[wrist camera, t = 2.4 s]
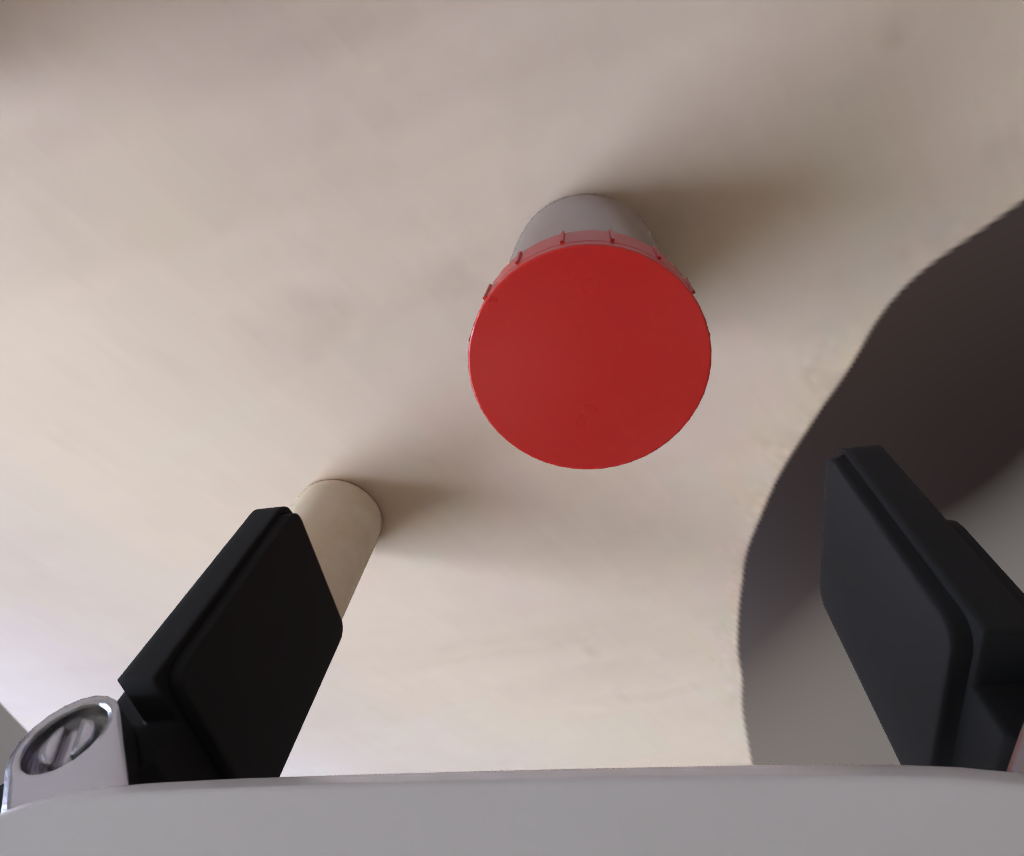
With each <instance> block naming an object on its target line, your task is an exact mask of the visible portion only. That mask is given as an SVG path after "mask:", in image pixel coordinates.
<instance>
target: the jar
mask: <svg viewBox="0 0 1024 856" xmlns="http://www.w3.org/2000/svg"><path fill="white" fill-rule="evenodd" d="M609 229H612V230H613V232H615V233H619V234H623V235H626V236H629V237H632V238H635V239H637V240H639V241H641V242H643V243H645V244H647V245H649V246H650V247H653V246H655V247H657V249H658V251H659V252H660V250H659V248H658V246H657V245H656V243H655V241H654V239H653V237H652V235H651V233H650V231H649V229H648V228H647V226H646V224H645V223H644V222H643V220H642V219H641V218H640V217H639V216H638V215H637V214H636V213H635V212H634V211H633V210H632V209H631V208H629V207H628V206H626V205H625V204H623V203H621V202H619V201H617V200H615V199H613V198H610V197H606V196H602V195H596V194H579V195H572V196H568V197H564V198H562V199H559V200H557V201H555V202H553V203H551V204H549V205H548V206H546V207H545V208H543V209H542V210H541V211H539V212H538V213H537V214H536V215H535V216H534V217H533V218H532V219H531V220H530V222H529V223H528V224H527V226H526V227H525V228H524V230H523V232H522V234H521V235H520V238H519V240H518V242H517V245H516V247H515V250H514V252H513V254H512V257H511V259H510V262H511V261H512V260H513V259H514V258H515V257H517V254H518V252H519V251H522V252H523V251H525V250H526V249H528V248H529V247H531V246H533V245H535V244H537V243H538V242H540V241H543V240H545V239H548V238H550V237H553V236H555V235H559V234H561V231H564V232H565V233H568V232H573V231H582V230H602V231H608V232H609ZM660 253H661V252H660ZM510 262H509V263H510Z"/></svg>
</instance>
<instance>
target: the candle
mask: <svg viewBox="0 0 1024 856" xmlns="http://www.w3.org/2000/svg"><path fill="white" fill-rule="evenodd" d="M290 510H291V511H292V513H296V514H298V515H299V516H300V517H301V519H302V521H303V524H304V526H305V529H306V531H307V534H308V536H309V539H310V541H311V544H312V546H313V549H314V551H315V554H316V556H317V559H318V561H319V564H320V566H321V569H322V571H323V574H324V576H325V579H326V581H327V584H328V586H329V589H330V591H331V594H332V596H333V599H334V601H335V604H336V606H337V609H338V611H339V614H340V616H341V619H342V618H343V616H344V614H345V611H346V609H347V607H348V605H349V603H350V600H351V598H352V596H353V594H354V591H355V589H356V587H357V585H358V582H359V580H360V578H361V576H362V574H363V571H364V569H365V567H366V565H367V562H368V560H369V558H370V556H371V553H372V551H373V549H374V547H375V545H376V542H377V540H378V537H379V535H380V531H381V526H382V518H381V513H380V510H379V508H378V506H377V504H376V503H375V501H374V500H373V499H372V498H371V497H370V496H369V495H368V494H367V493H366V492H365V491H363V490H362V489H361V488H359V487H357V486H355V485H353V484H351V483H348V482H344V481H340V480H323V481H319V482H316V483H313V484H312V485H310V486H308V487H307V488H306V489H305V490H304V491H302V493H301V494H300V495H299V496H298V498H297V499H296V500H295V502H294V503H293V504H292V506H291V507H290Z"/></svg>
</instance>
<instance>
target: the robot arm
mask: <svg viewBox="0 0 1024 856" xmlns="http://www.w3.org/2000/svg"><path fill="white" fill-rule="evenodd" d="M820 589H821V596H822V601H823V604H824V607H825V609H826V611H827V613H828V615H829V617H830V619H831V621H832V623H833V626H834V628H835V630H836V632H837V634H838V636H839V638H840V640H841V642H842V644H843V646H844V648H845V650H846V652H847V655H848V657H849V659H850V661H851V663H852V665H853V667H854V669H855V671H856V673H857V675H858V677H859V679H860V681H861V683H862V685H863V687H864V690H865V691H866V694H867V696H868V698H869V700H870V702H871V704H872V706H873V708H874V710H875V712H876V714H877V716H878V719H879V720H880V723H881V725H882V727H883V729H884V731H885V733H886V735H887V737H888V739H889V741H890V743H891V745H892V747H893V749H894V752H895V753H896V756H897V758H898V760H899V762H900V764H901V765H746V766H696V767H646V768H596V769H554V770H514V771H474V772H437V773H400V774H367V775H335V776H304V777H280V774H281V772H282V770H283V768H284V766H285V763H286V761H287V759H288V757H289V754H290V752H291V750H292V748H293V745H294V743H295V741H296V739H297V736H298V734H299V732H300V730H301V727H302V725H303V723H304V721H305V718H306V716H307V714H308V712H309V710H310V707H311V705H312V703H313V701H314V698H315V696H316V694H317V692H318V689H319V687H320V685H321V683H322V680H323V678H324V676H325V674H326V671H327V669H328V667H329V665H330V662H331V660H332V658H333V656H334V653H335V651H336V649H337V647H338V645H339V642H340V640H341V637H342V632H343V625H342V619H341V616H340V614H339V611H338V609H337V606H336V604H335V601H334V599H333V596H332V594H331V591H330V589H329V586H328V584H327V581H326V579H325V576H324V574H323V571H322V569H321V566H320V564H319V561H318V559H317V556H316V554H315V551H314V549H313V546H312V544H311V541H310V539H309V536H308V534H307V531H306V529H305V526H304V524H303V521H302V519H301V517H300V516H299V515H298V514H296V513H292V511H291V510H290V509H289V508H287V507H285V506H284V507H274V508H265V509H257V510H254V511H253V512H252V513H251V514H250V515H249V517H248V518H247V519H246V520H245V522H244V523H243V524H242V525H241V527H240V528H239V529H238V530H237V532H236V533H235V534H234V535H233V537H232V538H231V539H230V540H229V542H228V543H227V544H226V545H225V547H224V548H223V549H222V550H221V552H220V553H219V554H218V555H217V556H216V558H215V559H214V560H213V561H212V563H211V564H210V565H209V566H208V568H207V569H206V570H205V571H204V573H203V574H202V575H201V576H200V578H199V579H198V580H197V581H196V583H195V584H194V585H193V586H192V588H191V589H190V590H189V591H188V593H187V594H186V595H185V596H184V598H183V599H182V600H181V601H180V603H179V604H178V605H177V606H176V608H175V609H174V610H173V611H172V613H171V614H170V615H169V616H168V618H167V619H166V620H165V621H164V623H163V624H162V625H161V626H160V628H159V629H158V630H157V631H156V633H155V634H154V635H153V636H152V638H151V639H150V640H149V641H148V643H147V644H146V645H145V646H144V648H143V649H142V650H141V651H140V653H139V654H138V655H137V656H136V658H135V659H134V660H133V661H132V663H131V664H130V665H129V666H128V668H127V669H126V670H125V671H124V672H123V674H122V675H121V676H120V677H119V679H118V682H119V683H120V685H121V686H122V688H123V690H124V691H125V692H124V693H123V695H122V696H121V697H120V698H119V700H118V701H116V700H114V699H112V698H110V697H108V696H93V697H88V698H84V699H80V700H78V701H76V702H73V703H71V704H69V705H66V706H64V707H63V708H61V709H59V710H58V711H56V712H54V713H53V714H51V715H49V716H48V717H47V718H45V719H44V720H43V721H42V722H40V723H39V724H38V725H36V726H35V727H34V728H33V729H32V730H31V731H30V732H29V733H28V734H27V735H26V736H25V737H24V738H23V739H22V740H21V741H20V742H19V744H18V745H17V747H16V749H15V750H14V751H13V753H12V754H11V756H10V758H9V761H8V764H7V767H6V773H5V783H4V784H2V785H0V856H1024V593H1023V592H1022V591H1021V590H1020V589H1019V588H1018V587H1017V586H1016V585H1015V583H1014V582H1013V581H1012V580H1011V579H1010V578H1009V577H1008V576H1007V575H1006V573H1005V572H1004V571H1003V570H1002V569H1001V568H1000V567H999V566H998V565H997V564H996V563H995V561H994V560H993V559H992V558H991V557H990V556H989V555H988V554H987V552H986V551H985V550H984V549H983V548H982V547H981V546H980V545H979V544H978V542H977V541H976V540H975V539H974V538H973V537H972V536H971V535H970V534H969V533H968V531H967V530H966V529H965V528H964V527H963V526H961V525H960V524H959V523H958V522H956V521H953V520H946V519H945V518H944V517H943V515H942V514H941V513H940V512H939V511H938V510H937V509H936V507H935V506H934V505H933V504H932V503H931V502H930V501H929V499H928V498H927V497H926V496H925V495H924V494H923V493H922V492H921V490H920V489H919V488H918V487H917V486H916V485H915V484H914V483H913V481H912V480H911V479H910V478H909V477H908V476H907V474H906V473H905V472H904V471H903V470H902V469H901V468H900V467H899V465H898V464H897V463H896V462H895V461H894V460H893V458H892V457H891V456H890V455H889V454H888V453H887V452H886V450H884V448H883V447H881V446H880V445H870V446H861V447H850V448H841V449H840V450H839V451H838V454H837V458H830V459H828V460H827V462H826V468H825V491H824V512H823V534H822V555H821V577H820Z"/></svg>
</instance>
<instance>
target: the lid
mask: <svg viewBox="0 0 1024 856" xmlns="http://www.w3.org/2000/svg"><path fill="white" fill-rule="evenodd" d="M694 293H695V291H694V289H693V288H692V286H691V284H690V282H689V281H688V279H687V278H685V279H684V278H683V277H682V275H681V274H680V272H679V271H678V270H677V269H676V268H675V267H674V265H673V264H672V263H671V262H670V261H669V260H668V259H666V258H665V257H664V256H663V255H662V254H661V253H660V252H659V251H658V249H657V247H655V246H653V247H650V246H649V245H647V244H645V243H643V242H641V241H639V240H637V239H635V238H632V237H629V236H626V235H623V234H619V233H615V232H613V230H612V229H609V232H608V231H602V230H582V231H573V232H568V233H565V232H564V231H561V234H559V235H555V236H553V237H550V238H548V239H545V240H543V241H540V242H538V243H537V244H535V245H533V246H531V247H529V248H528V249H526V250H525V251H523V252H522V251H519V252H518V254H517V257H515V258H514V259H513V260H512V261H511V262H510V263H509V264H508V265H507V266H506V267H505V268H504V269H503V270H502V272H501V273H500V274H499V276H498V277H497V278H496V279H495V281H494V283H493V284H492V285H491V284H489V286H488V288H487V290H486V292H485V295H484V297H483V299H484V302H483V304H482V306H481V309H480V311H479V313H478V316H477V318H476V320H475V323H474V325H473V329H472V333H471V336H470V338H469V342H470V343H469V351H468V367H469V374H470V380H471V385H472V388H473V391H474V394H475V397H476V399H477V401H478V404H479V406H480V408H481V410H482V411H483V413H484V414H485V416H486V418H487V419H488V421H489V422H490V423H491V424H492V426H493V427H494V428H495V429H496V430H497V432H498V433H500V434H501V435H502V436H503V437H504V438H505V439H506V440H507V441H508V442H509V443H511V444H512V445H514V446H515V447H516V448H518V449H519V450H521V451H523V452H524V453H526V454H528V455H530V456H531V457H534V458H536V459H539V460H541V461H543V462H546V463H550V464H553V465H556V466H561V467H567V468H573V469H602V468H608V467H614V466H619V465H622V464H626V463H629V462H632V461H634V460H637V459H639V458H642V457H644V456H646V455H648V454H650V453H651V452H653V451H655V450H657V449H658V448H660V447H661V446H662V445H664V444H665V443H667V442H668V441H669V440H670V439H671V438H673V437H674V436H675V435H676V434H677V433H678V432H679V431H680V430H681V429H682V428H683V426H684V425H685V424H686V423H687V422H688V421H689V419H690V418H691V416H692V415H693V413H694V412H695V410H696V409H697V407H698V405H699V403H700V401H701V399H702V397H703V395H704V392H705V389H706V386H707V383H708V380H709V374H710V368H711V341H710V333H709V330H708V326H707V323H706V319H705V317H704V315H703V312H702V310H701V308H700V305H699V304H698V302H697V300H696V298H695V297H694V295H693V294H694Z"/></svg>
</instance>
